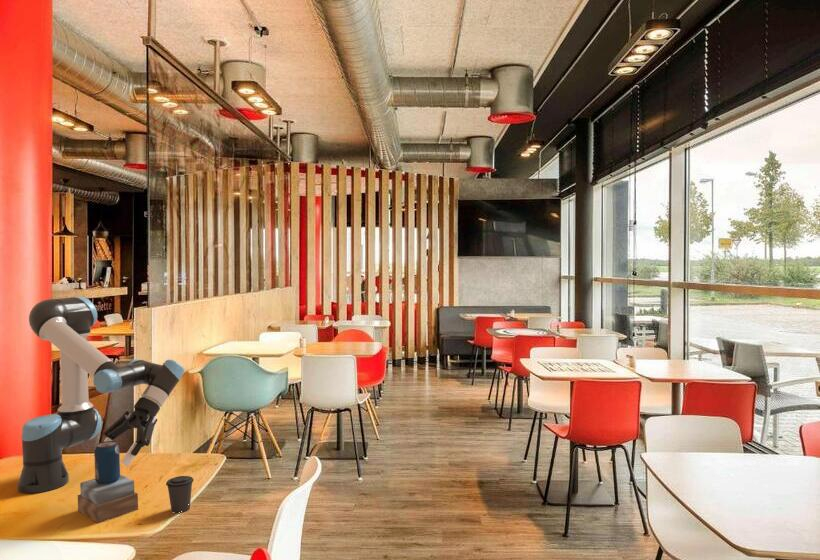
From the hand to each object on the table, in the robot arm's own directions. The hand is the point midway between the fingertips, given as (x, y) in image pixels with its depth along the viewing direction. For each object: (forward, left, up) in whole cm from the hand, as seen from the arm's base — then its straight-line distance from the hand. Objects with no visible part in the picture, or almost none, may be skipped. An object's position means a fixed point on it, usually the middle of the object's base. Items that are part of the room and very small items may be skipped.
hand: (110, 461), depth 184 cm
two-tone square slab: (0, -1, -15) cm, 15 cm away
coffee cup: (+18, +13, -16) cm, 27 cm away
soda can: (0, -1, -7) cm, 7 cm away
